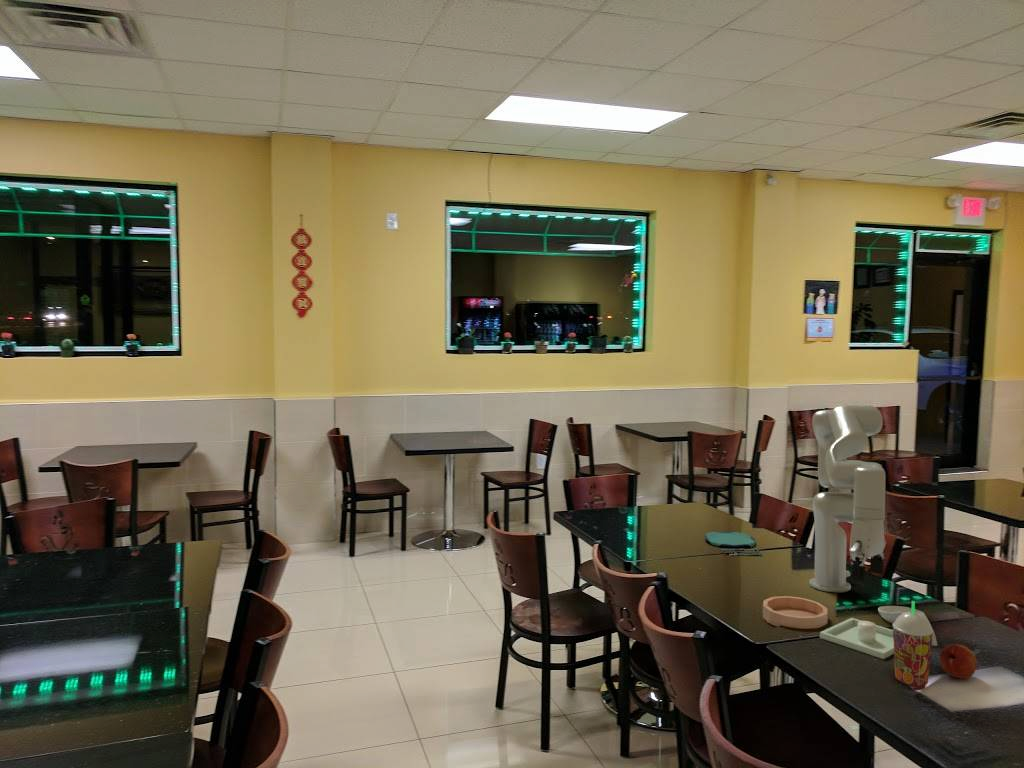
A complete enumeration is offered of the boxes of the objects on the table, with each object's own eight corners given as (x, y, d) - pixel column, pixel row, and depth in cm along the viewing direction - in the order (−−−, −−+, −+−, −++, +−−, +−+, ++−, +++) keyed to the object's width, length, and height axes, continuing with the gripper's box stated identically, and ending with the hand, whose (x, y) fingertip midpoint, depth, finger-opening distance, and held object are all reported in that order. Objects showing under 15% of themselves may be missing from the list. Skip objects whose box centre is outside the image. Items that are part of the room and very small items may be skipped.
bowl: (784, 605, 221) (784, 592, 221) (838, 622, 207) (839, 608, 207) (751, 618, 210) (751, 604, 210) (806, 637, 196) (806, 622, 196)
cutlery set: (748, 536, 302) (748, 531, 302) (767, 558, 272) (767, 552, 272) (700, 536, 303) (700, 530, 303) (714, 557, 274) (714, 551, 274)
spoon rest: (871, 615, 212) (871, 592, 212) (912, 617, 211) (913, 593, 211) (906, 649, 189) (906, 622, 188) (953, 650, 188) (954, 624, 187)
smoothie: (883, 677, 172) (885, 595, 171) (916, 675, 173) (918, 594, 172) (905, 693, 164) (907, 608, 163) (940, 692, 165) (942, 607, 164)
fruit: (931, 670, 176) (931, 638, 176) (962, 668, 177) (963, 637, 176) (952, 685, 168) (953, 651, 168) (985, 683, 169) (986, 650, 168)
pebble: (862, 635, 195) (862, 619, 195) (878, 640, 191) (879, 624, 191) (854, 639, 192) (854, 623, 192) (870, 644, 189) (871, 628, 189)
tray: (851, 626, 204) (851, 617, 204) (914, 645, 190) (914, 636, 190) (819, 641, 194) (819, 632, 193) (883, 663, 180) (883, 653, 180)
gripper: (870, 506, 198) (869, 567, 199) (838, 515, 188) (837, 579, 189) (898, 511, 192) (897, 573, 193) (866, 520, 182) (865, 586, 183)
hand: (867, 576), depth 191 cm, fingers open, 9 cm apart
